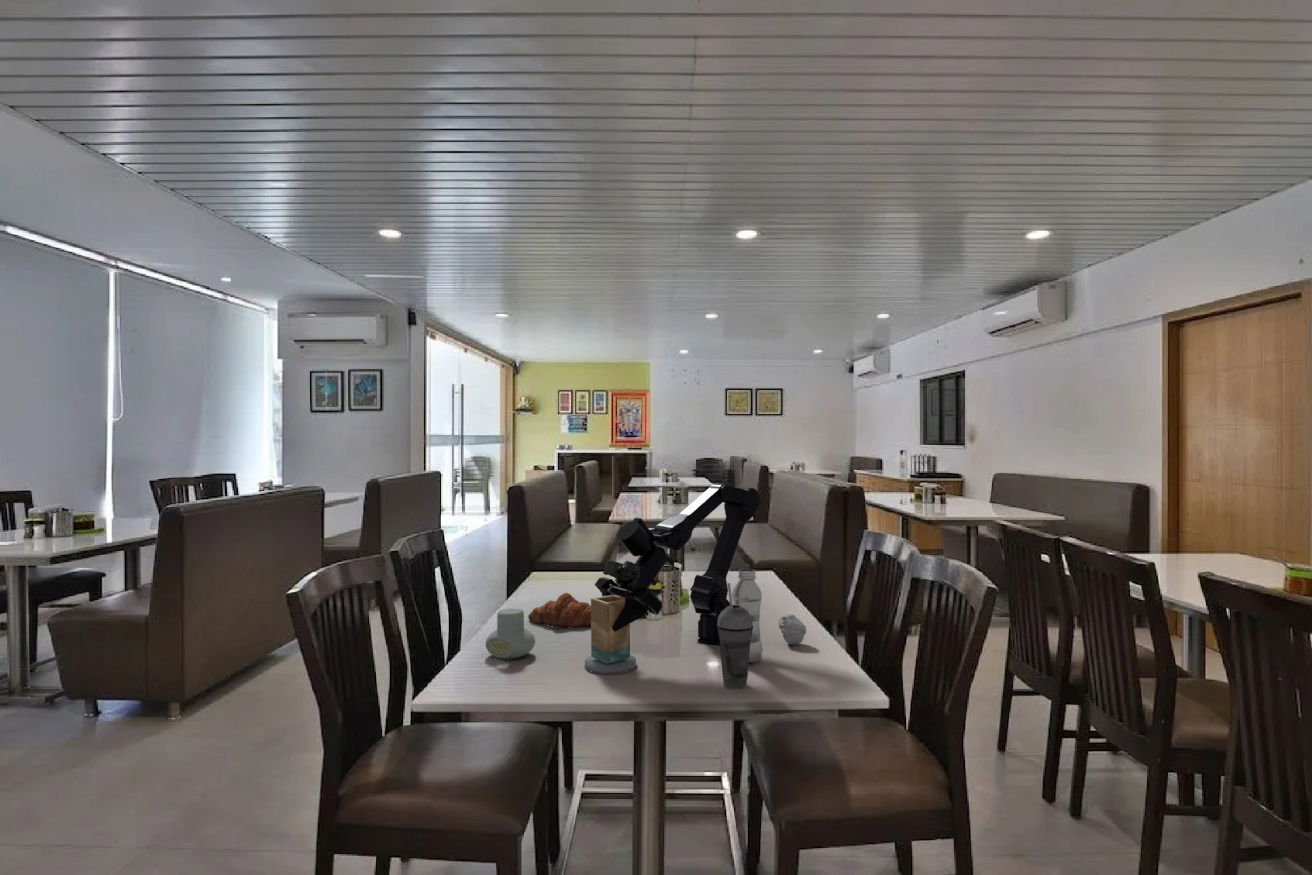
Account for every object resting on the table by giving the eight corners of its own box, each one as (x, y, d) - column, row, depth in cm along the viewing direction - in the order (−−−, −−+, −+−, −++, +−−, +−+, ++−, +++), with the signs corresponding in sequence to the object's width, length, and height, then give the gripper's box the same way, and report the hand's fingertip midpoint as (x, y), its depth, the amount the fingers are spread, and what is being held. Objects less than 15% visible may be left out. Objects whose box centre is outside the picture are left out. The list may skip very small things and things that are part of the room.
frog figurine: (787, 638, 165) (787, 610, 165) (812, 644, 160) (812, 615, 160) (772, 643, 160) (772, 614, 160) (797, 650, 155) (797, 619, 155)
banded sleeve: (614, 651, 148) (613, 594, 149) (630, 657, 144) (629, 599, 144) (591, 656, 145) (590, 598, 145) (606, 663, 140) (606, 603, 140)
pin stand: (644, 661, 147) (644, 637, 147) (621, 677, 137) (621, 651, 137) (600, 655, 151) (600, 632, 152) (575, 669, 141) (575, 645, 142)
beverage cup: (752, 692, 128) (752, 587, 129) (714, 689, 130) (714, 586, 130) (754, 679, 135) (754, 580, 136) (718, 677, 137) (718, 579, 137)
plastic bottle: (744, 668, 143) (743, 573, 143) (726, 659, 149) (726, 568, 149) (768, 663, 146) (768, 571, 146) (750, 655, 152) (750, 566, 152)
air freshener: (541, 653, 153) (541, 609, 153) (519, 664, 145) (519, 617, 146) (502, 647, 157) (502, 605, 158) (479, 657, 150) (479, 612, 150)
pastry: (584, 613, 191) (584, 585, 191) (607, 626, 177) (607, 595, 177) (527, 621, 182) (527, 591, 183) (547, 634, 169) (547, 603, 169)
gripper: (601, 541, 154) (559, 596, 147) (651, 551, 140) (607, 612, 133) (629, 571, 159) (590, 626, 152) (680, 584, 144) (639, 645, 137)
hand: (605, 627), depth 144 cm, fingers closed on banded sleeve, 6 cm apart
